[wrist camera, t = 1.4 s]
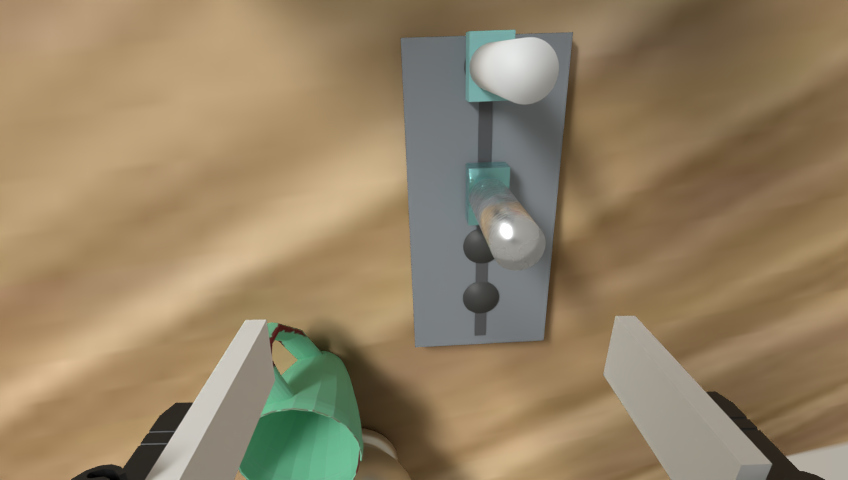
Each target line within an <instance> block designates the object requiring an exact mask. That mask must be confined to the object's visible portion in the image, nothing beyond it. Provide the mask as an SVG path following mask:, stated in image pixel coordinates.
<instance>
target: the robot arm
mask: <svg viewBox="0 0 848 480" xmlns="http://www.w3.org/2000/svg"><path fill="white" fill-rule="evenodd" d="M603 375H604V376H605V378H606V380H607V381H608V383H609V384H610V386H611V387H612V389H613V390H614V392H615V394H616V395H617V397H618V398H619V400H620V401H621V403H622V404H623V406H624V407H625V409H626V411H627V412H628V414H629V415H630V417H631V418H632V420H633V421H634V423H635V424H636V426H637V428H638V429H639V431H640V432H641V434H642V435H643V437H644V438H645V440H646V442H647V443H648V445H649V446H650V448H651V449H652V451H653V452H654V454H655V455H656V457H657V459H658V460H659V462H660V463H661V465H662V466H663V468H664V469H665V471H666V472H667V474H668V476H669V477H670V479H671V480H825V479H823V478H821V477H819V476H817V475H814V474H810V473H807V472H804V471H799V470H798V469H797V468H796V467H795V466H794V465H793V464H792V463H791V462H790V461H789V460H788V459H787V458H786V457H785V456H784V455H783V454H782V453H781V452H780V450H779V449H778V448H777V447H776V446H775V445H774V444H773V443H772V442H771V441H770V440H769V439H768V438H767V437H766V436H765V435H764V434H763V433H762V432H761V431H758V430H757V427H756V426H755V425H754V424H753V423H752V422H751V421H750V420H749V419H747V418H746V416H745V415H744V414H743V413H742V412H741V411H740V410H739V409H738V408H737V406H736V405H735V404H734V403H732V402H731V401H729V400H728V399H726V398H725V397H723V396H721V395H720V394H718V393H717V392H705V391H704V390H703V389H702V388H701V386H700V385H699V384H698V383H697V382H696V381H695V380H694V379H693V378H692V377H691V376H690V375H689V373H688V372H687V371H686V370H685V369H684V368H683V367H682V366H681V365H680V364H679V363H678V362H677V361H676V359H675V358H674V357H673V356H672V355H671V354H670V353H669V352H668V351H667V350H666V349H665V348H664V346H663V345H662V344H661V343H660V342H659V341H658V340H657V339H656V338H655V337H654V336H653V335H652V334H651V332H650V331H649V330H648V329H647V328H646V327H645V326H644V325H643V324H642V323H641V322H640V321H639V319H638V318H637V317H636V316H615V321H614V326H613V330H612V335H611V340H610V345H609V350H608V355H607V359H606V364H605V369H604V374H603ZM274 382H275V375H274V368H273V361H272V354H271V347H270V340H269V333H268V326H267V320H245V321H244V323H243V325H242V326H241V328H240V329H239V331H238V333H237V334H236V336H235V337H234V339H233V341H232V342H231V344H230V345H229V347H228V349H227V350H226V352H225V353H224V355H223V356H222V358H221V360H220V361H219V363H218V364H217V366H216V368H215V369H214V371H213V372H212V374H211V376H210V377H209V379H208V380H207V382H206V384H205V385H204V387H203V388H202V390H201V392H200V393H199V395H198V396H197V398H196V399H195V401H194V403H175V404H174V405H173V406H171V407H170V408H169V409H168V410H166V411H165V412H164V413H163V414H162V415H160V416H159V418H158V419H157V421H156V422H155V423H154V425H153V426H152V428H151V429H150V432H149V434H147V435H146V436H145V438H144V439H143V441H142V442H141V445H140V446H138V448H137V449H136V451H135V452H134V453H133V455H132V456H131V458H130V459H129V461H128V462H127V463H126V465H125V466H124V468H123V469H122V468H121V467H120V466H116V465H112V464H110V465H101V466H97V467H95V468H92V469H89V470H86V471H84V472H83V473H81V474H79V475H78V476H76V477H74V478H73V479H71V480H234V479H235V476H236V474H237V471H238V469H239V467H240V464H241V462H242V459H243V457H244V454H245V452H246V450H247V447H248V445H249V442H250V440H251V437H252V435H253V433H254V430H255V428H256V425H257V423H258V421H259V418H260V416H261V413H262V411H263V408H264V406H265V404H266V401H267V399H268V396H269V394H270V391H271V389H272V387H273V384H274Z"/></svg>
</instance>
